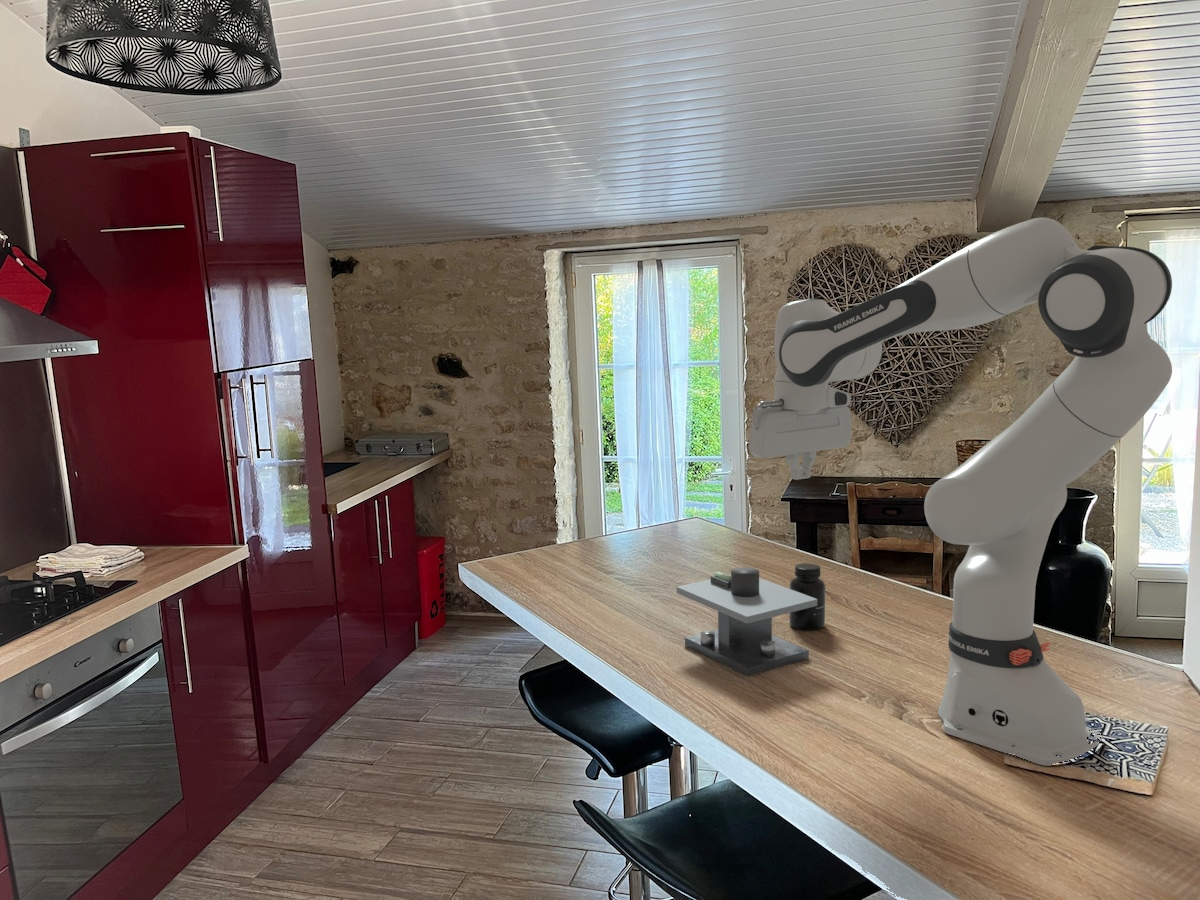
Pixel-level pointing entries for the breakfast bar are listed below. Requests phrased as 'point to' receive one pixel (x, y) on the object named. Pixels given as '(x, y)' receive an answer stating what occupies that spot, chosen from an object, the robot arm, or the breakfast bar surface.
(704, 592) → the plate
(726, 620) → the stand
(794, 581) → the supplement bottle
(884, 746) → the breakfast bar surface
